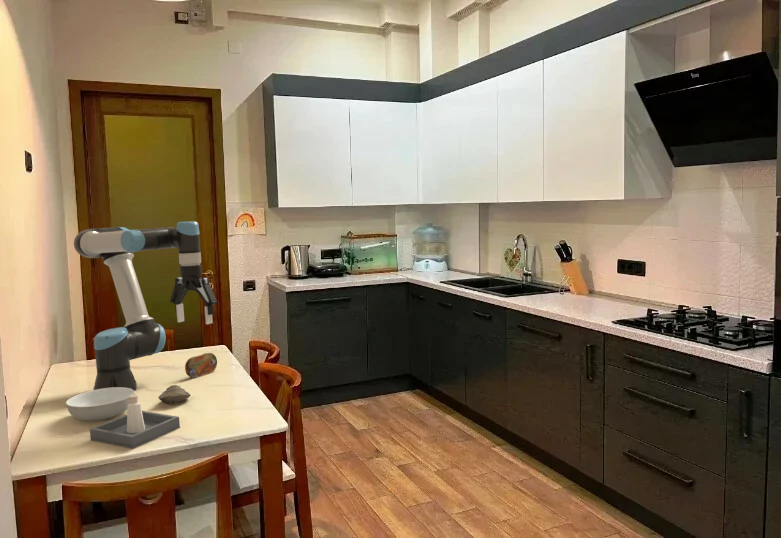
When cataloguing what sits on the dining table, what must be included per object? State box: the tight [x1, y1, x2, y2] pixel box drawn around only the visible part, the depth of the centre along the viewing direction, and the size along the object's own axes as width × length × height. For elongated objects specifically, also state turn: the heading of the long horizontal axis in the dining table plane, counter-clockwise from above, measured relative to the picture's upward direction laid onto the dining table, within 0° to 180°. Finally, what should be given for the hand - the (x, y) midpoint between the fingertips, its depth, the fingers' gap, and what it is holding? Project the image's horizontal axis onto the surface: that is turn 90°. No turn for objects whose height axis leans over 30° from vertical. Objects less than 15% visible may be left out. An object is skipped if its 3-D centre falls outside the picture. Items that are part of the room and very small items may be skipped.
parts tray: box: [89, 410, 181, 450], centre depth 192 cm, size 18×18×4 cm
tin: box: [184, 352, 218, 379], centre depth 257 cm, size 15×3×8 cm, turn 148°
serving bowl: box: [65, 387, 135, 422], centre depth 210 cm, size 21×21×7 cm
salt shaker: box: [126, 394, 145, 434], centre depth 191 cm, size 5×5×11 cm
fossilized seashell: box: [157, 384, 191, 405], centre depth 221 cm, size 11×10×7 cm
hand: (194, 322), depth 227 cm, fingers open, 13 cm apart
